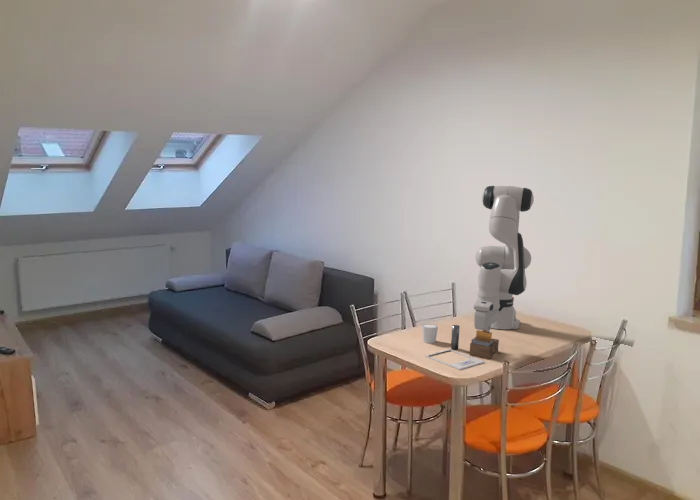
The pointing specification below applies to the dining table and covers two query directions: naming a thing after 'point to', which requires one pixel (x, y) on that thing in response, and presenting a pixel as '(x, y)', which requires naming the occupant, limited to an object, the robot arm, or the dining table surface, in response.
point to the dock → (484, 349)
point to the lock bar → (483, 338)
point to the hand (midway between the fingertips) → (486, 335)
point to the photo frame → (460, 364)
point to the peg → (455, 337)
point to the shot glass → (429, 333)
